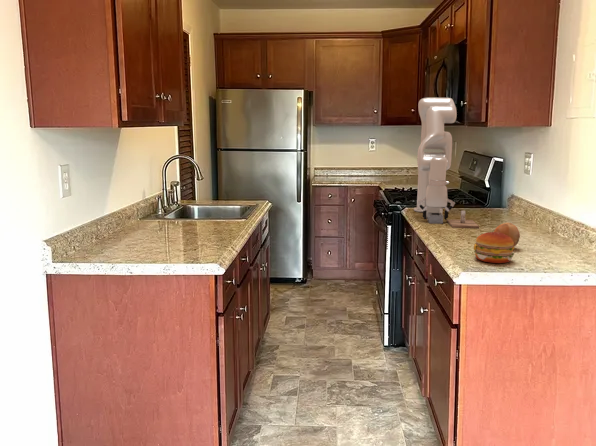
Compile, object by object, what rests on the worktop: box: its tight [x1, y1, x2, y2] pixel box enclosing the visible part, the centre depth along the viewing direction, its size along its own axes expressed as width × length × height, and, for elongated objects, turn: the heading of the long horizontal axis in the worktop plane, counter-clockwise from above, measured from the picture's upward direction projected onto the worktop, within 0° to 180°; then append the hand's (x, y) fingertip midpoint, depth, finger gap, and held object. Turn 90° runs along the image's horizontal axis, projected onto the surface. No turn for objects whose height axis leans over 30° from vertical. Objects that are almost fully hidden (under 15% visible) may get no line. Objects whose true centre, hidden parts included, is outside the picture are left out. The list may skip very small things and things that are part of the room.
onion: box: [493, 222, 521, 247], centre depth 210 cm, size 10×10×10 cm
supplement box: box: [426, 207, 444, 219], centre depth 277 cm, size 7×7×13 cm
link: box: [426, 212, 444, 225], centre depth 264 cm, size 8×6×4 cm
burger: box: [473, 231, 515, 264], centre depth 191 cm, size 13×14×10 cm
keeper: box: [446, 210, 480, 229], centre depth 258 cm, size 16×12×6 cm
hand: (435, 219), depth 264 cm, fingers open, 9 cm apart
